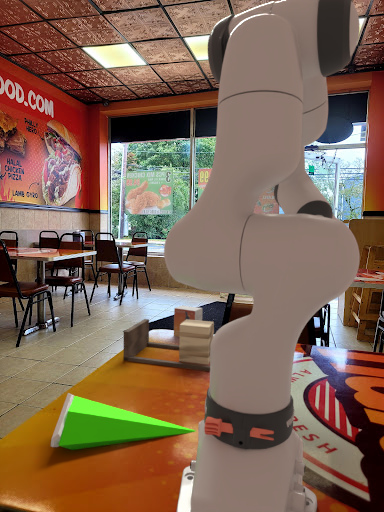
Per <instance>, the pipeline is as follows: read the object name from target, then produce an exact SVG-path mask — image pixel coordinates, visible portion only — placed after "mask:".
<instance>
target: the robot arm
mask: <svg viewBox="0 0 384 512" xmlns="http://www.w3.org/2000/svg"><path fill="white" fill-rule="evenodd" d="M359 35H360V18H359V14H358V11H357V8H356V6H355V3H354V0H279V1H276V0H274V1H270V2H268V3H264V4H261V5H258V6H255V7H253V8H251V9H248V10H246V11H243V12H241V13H238V14H234V13H233V14H231V15H229V16H226V17H225V18H222V19H220V20H219V21H218V22H217V23H216V24H215V25H214V27H213V28H212V30H211V32H210V34H209V36H208V41H207V58H208V64H209V68H210V73H211V75H212V77H213V79H214V80H215V81H216V82H217V83H218V84H219V86H218V96H217V97H218V98H217V115H216V116H217V119H216V135H215V136H216V137H215V145H214V146H215V147H214V154H213V155H214V156H213V162H212V167H211V172H210V174H209V177H208V179H207V182H206V185H205V187H204V188H203V191H202V192H201V194H200V196H199V197H198V199H197V201H196V202H195V204H194V205H193V206H192V207H191V209H190V210H188V212H187V213H186V214H185V215H184V216H182V217H181V218H180V219H178V220H177V221H176V222H175V223H174V224H173V225H172V227H171V228H170V229H169V232H168V233H167V236H166V238H165V241H164V247H163V248H164V249H163V256H164V257H163V258H164V262H165V266H166V269H167V270H168V273H169V275H170V276H171V278H173V280H175V282H177V283H180V284H183V285H186V286H189V287H192V288H195V289H198V290H202V291H204V292H205V291H206V292H213V293H225V294H234V295H244V296H249V297H252V298H253V299H252V300H253V301H252V302H253V304H252V310H251V313H250V314H248V315H245V316H242V317H239V318H237V319H234V320H232V321H230V322H228V323H226V324H224V325H222V326H221V327H219V328H218V330H216V332H214V337H213V339H212V342H211V346H210V363H209V366H210V371H209V387H208V388H207V391H206V398H205V401H204V419H202V420H200V421H199V422H198V427H197V428H198V431H197V432H198V433H197V434H198V435H197V436H198V437H197V438H198V439H197V440H198V443H197V449H196V457H195V459H191V461H190V463H189V465H188V466H186V467H185V468H184V469H183V471H182V476H181V480H180V481H181V483H180V488H179V494H178V501H177V505H176V512H317V508H318V500H317V499H318V498H317V495H316V494H315V493H314V492H313V491H312V490H311V489H309V488H308V487H306V486H305V485H303V476H305V474H306V473H305V472H306V463H304V461H303V458H304V441H303V439H302V438H301V436H299V435H298V434H297V433H296V431H295V429H294V417H295V406H294V398H293V396H292V392H291V391H292V379H293V365H294V358H295V352H296V347H297V343H298V340H299V338H300V336H301V335H302V334H301V333H302V332H303V330H304V328H305V326H306V325H307V323H308V322H309V321H310V320H311V318H312V317H313V316H314V315H315V314H316V313H317V312H318V311H319V310H321V308H323V307H324V306H325V305H327V304H329V303H330V302H332V301H333V300H336V299H337V298H339V297H340V296H342V295H343V294H344V293H345V292H346V291H347V290H348V289H349V287H351V285H352V284H353V283H354V281H355V278H356V276H357V274H358V271H359V267H360V260H361V259H360V249H359V245H358V242H357V239H356V237H355V235H354V233H353V232H352V231H351V229H350V227H348V226H347V224H346V223H345V222H343V220H339V218H337V217H336V216H335V214H334V212H333V208H332V206H331V204H330V202H329V201H328V200H327V198H326V197H325V196H324V195H323V193H322V192H321V190H319V188H318V187H317V186H316V184H315V183H314V182H313V180H312V178H311V177H310V176H309V174H308V173H307V171H306V160H305V158H306V156H305V147H306V146H309V145H311V144H313V143H315V142H316V141H317V140H318V139H319V138H320V137H321V136H322V135H323V134H324V132H326V129H327V125H328V120H329V119H328V117H329V96H328V95H329V93H328V84H327V77H328V76H330V75H333V74H336V73H338V72H340V71H342V70H343V69H344V68H346V66H347V65H348V64H349V63H350V62H351V61H352V58H353V54H354V53H355V50H356V47H357V44H358V42H359V38H360V37H359ZM272 188H274V189H273V197H274V200H275V202H276V203H277V205H278V206H279V207H280V208H281V210H282V212H283V213H255V208H256V205H257V202H258V201H259V199H260V198H261V196H262V195H263V194H264V193H265V192H267V191H269V190H270V189H272Z"/></svg>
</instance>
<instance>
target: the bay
mask: <svg viewBox="0 0 384 512" xmlns="http://www.w3.org/2000/svg"><path fill="white" fill-rule="evenodd" d="M147 347H151V348H152V347H153V348H161V349H170V350H177V351H179V344H174V343H173V344H171V343H161V342H153V341H150V319H148V318H144V319H142V320H140V321H139V322H137V323H136V324H134V325H132V326H131V327H129V328H126V329H125V330H124V331H123V361H126V362H127V361H128V362H135V363H141V364H149V365H156V366H157V365H158V366H164V367H172V368H180V369H181V368H182V369H189V370H195V371H205V372H210V365H205V364H197V363H189V362H181V361H175V360H174V361H172V360H166V359H157V358H150V357H140V356H136V355H138V354H139V353H141V351H143V350H144V349H146V348H147Z"/></svg>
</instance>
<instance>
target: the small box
mask: <svg viewBox="0 0 384 512" xmlns="http://www.w3.org/2000/svg"><path fill="white" fill-rule="evenodd" d="M173 313H174V315H173V337H177V338H180V336H179V332H180V324H181V323H183V322H184V321H185V320H186V319H187V320H198V321H203V308H202V307H197V306H188V305H179V306H177V307H174V312H173Z"/></svg>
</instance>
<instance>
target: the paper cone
mask: <svg viewBox="0 0 384 512" xmlns="http://www.w3.org/2000/svg"><path fill="white" fill-rule="evenodd" d="M62 406H63V407H62V409H61V412H60V415H59V417H58V420H57V422H56V426H55V428H54V431H53V434H52V437H51V441H50V447H52V448H59V447H62V448H65V449H68V450H71V451H76V450H81V449H87V448H88V449H89V448H95V447H96V448H97V447H102V446H109V445H117V444H123V443H128V442H136V441H143V440H150V439H158V438H163V437H164V438H165V437H171V436H172V437H173V436H177V435H178V436H179V435H184V434H190V433H195V432H197V430H195V429H191V428H188V427H184V426H181V425H177V424H174V423H170V422H169V421H168V422H167V421H163V420H160V419H157V418H154V417H150V416H146V415H143V414H139V413H135V412H132V411H130V410H129V411H128V410H125V409H122V408H119V407H115V406H111V405H108V404H105V403H102V402H98V401H94V400H90V399H88V398H84V397H80V396H76V395H74V394H72V393H69V392H67V395H66V397H65V400H64V403H63V405H62Z"/></svg>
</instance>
